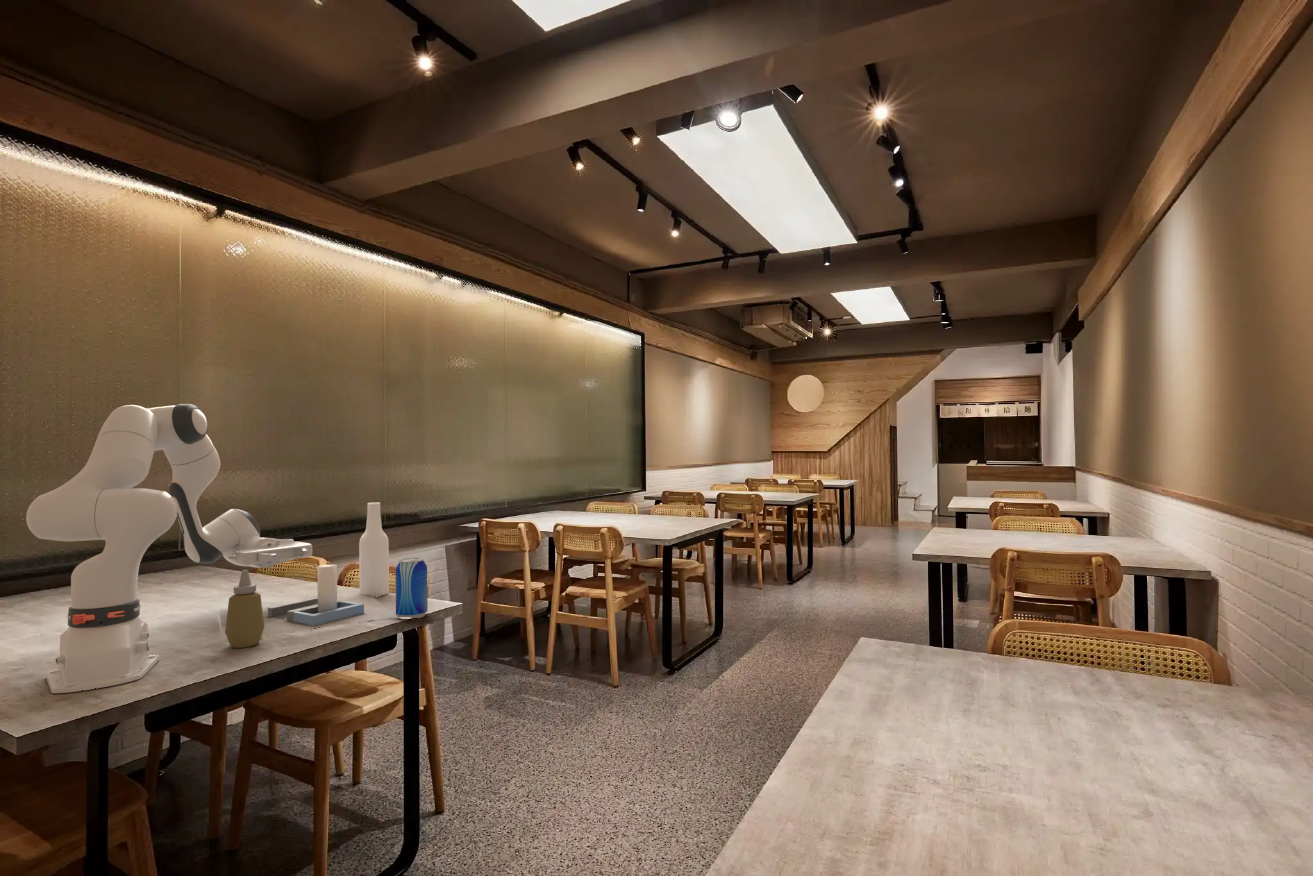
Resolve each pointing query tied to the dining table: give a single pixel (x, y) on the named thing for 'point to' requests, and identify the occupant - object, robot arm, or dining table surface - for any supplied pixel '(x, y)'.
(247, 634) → the squeeze bottle
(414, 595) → the beer can
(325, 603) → the plug post
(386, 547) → the alcohol
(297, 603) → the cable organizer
